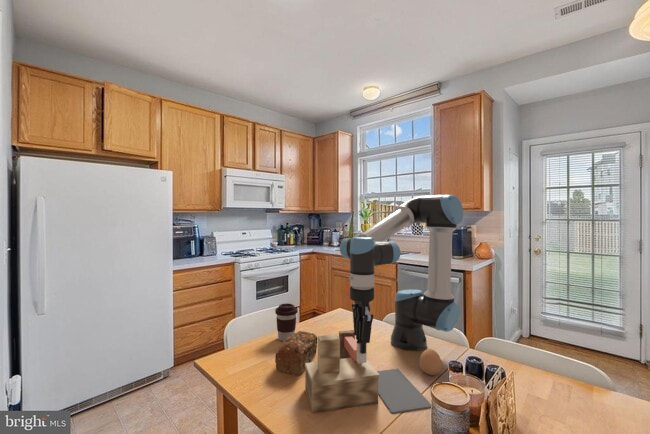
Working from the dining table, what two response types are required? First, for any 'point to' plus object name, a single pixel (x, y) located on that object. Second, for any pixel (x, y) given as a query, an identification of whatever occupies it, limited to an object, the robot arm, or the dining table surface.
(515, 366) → the dining table surface
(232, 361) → the dining table surface
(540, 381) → the dining table surface
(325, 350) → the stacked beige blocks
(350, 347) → the red block
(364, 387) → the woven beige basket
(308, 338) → the bread
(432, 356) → the egg
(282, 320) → the coffee cup
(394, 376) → the mat
